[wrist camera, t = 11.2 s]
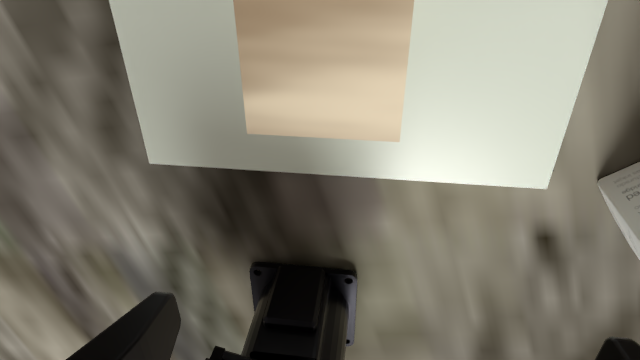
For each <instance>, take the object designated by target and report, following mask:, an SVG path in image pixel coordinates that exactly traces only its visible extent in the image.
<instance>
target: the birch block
mask: <svg viewBox="0 0 640 360" xmlns="http://www.w3.org/2000/svg"><path fill="white" fill-rule="evenodd" d="M233 4H234V13H235V23H236V32H237V42H238V51H239V61H240V71H241V80H242V90H243V99H244V109H245V118H246V128H247V134H261V135H279V136H297V137H315V138H333V139H351V140H369V141H387V142H400V133H401V123H402V114H403V104H404V94H405V85H406V75H407V65H408V56H409V46H410V36H411V27H412V17H413V7H414V0H233Z"/></svg>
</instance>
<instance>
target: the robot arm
mask: <svg viewBox="0 0 640 360" xmlns="http://www.w3.org/2000/svg"><path fill="white" fill-rule="evenodd" d="M257 270H260V271H257ZM347 278H351V279H347ZM250 279H251V287H252V295H253V303H254V311H255V314H254V317H253V320H252V323H251V326H250V329H249V332H248V335H247V338H246V341H245V345H244V348H243V351H242V354H241V355H239V354H236V353H232V352H229V351H225V348H222V347H218V346H215V348H214V350H213V352H212V355H211V357H210V359H209V358H206V360H344V359H345V349H346V346H351V345H353V343H354V332H355V314H356V295H357V274H356V273H355V272H354V271H352V270H344V269H333V268H321V267H310V266H299V265H287V264H276V263H265V262H255V263H253V264H252V265H251V268H250ZM180 323H181V318H180V314H179V310H178V306H177V302H176V299H175V296H174V295H173V294H172V293H166V292H155V293H153V294H151V295H150V296H148V297H147V298H146V299H144V300H143V301H142V302H141V303H139V304H138V305H137V306H135V307H134V308H133V309H131V310H130V311H129V312H127V313H126V314H125V315H124V316H122V317H121V318H120V319H118V320H117V321H116V322H114V323H113V324H112V325H111V326H109V327H108V328H107V329H105V330H104V331H103V332H101V333H100V334H99V335H97V336H96V337H95V338H94V339H92V340H91V341H90V342H88V343H87V344H86V345H84V346H83V347H82V348H80V349H79V350H78V351H77V352H75V353H74V354H73V355H71V356H70V357H69V358H67V359H66V360H170V357H171V354H172V351H173V348H174V345H175V342H176V338H177V335H178V332H179V329H180ZM595 360H640V345H639V344H638V343H636V342H635V341H633V340H632V339H629V338H620V337H609V338H607V339H606V340H605V341H604V343H603V345H602V347H601V349H600V351H599V353H598V355H597V356H596V358H595Z"/></svg>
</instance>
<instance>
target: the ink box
mask: <svg viewBox="0 0 640 360" xmlns="http://www.w3.org/2000/svg"><path fill="white" fill-rule="evenodd" d="M598 186H599V188H600V190H601V193H602V195H603V197H604V199H605V201H606V203H607V205H608V207H609V209H610V211H611V213H612V215H613V217H614V219H615V220H616V222H617V224H618V226H619V228H620V229H621V231H622V233H623V235H624V236H625V238H626V240H627V242H628V243H629V245H630V246H631V248H632V249H633V251H634V252H635V254H636V255H637V257H638V258H639V260H640V162H638V163H636V164H633V165H631V166H629V167H626V168H624V169H622V170H620V171H617V172H615V173H613V174H610V175H608V176H606V177H604V178H601V179H600V180H599V181H598Z"/></svg>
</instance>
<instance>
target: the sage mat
mask: <svg viewBox="0 0 640 360" xmlns="http://www.w3.org/2000/svg"><path fill="white" fill-rule="evenodd" d="M607 2H608V0H414V7H413V17H412V27H411V36H410V46H409V56H408V65H407V75H406V85H405V94H404V104H403V114H402V123H401V133H400V142H387V141H369V140H351V139H333V138H315V137H297V136H279V135H261V134H247V128H246V118H245V109H244V99H243V90H242V80H241V71H240V61H239V51H238V42H237V32H236V23H235V13H234V4H233V0H109V3H110V7H111V11H112V15H113V19H114V23H115V27H116V31H117V35H118V39H119V43H120V47H121V51H122V55H123V59H124V63H125V67H126V71H127V75H128V79H129V83H130V87H131V91H132V95H133V99H134V103H135V107H136V111H137V115H138V119H139V123H140V127H141V131H142V135H143V140H144V144H145V148H146V152H147V156H148V160H149V164H164V165H179V166H195V167H211V168H226V169H242V170H257V171H273V172H288V173H304V174H320V175H335V176H351V177H366V178H382V179H398V180H413V181H429V182H444V183H460V184H476V185H491V186H507V187H522V188H538V189H547V187H548V184H549V181H550V178H551V174H552V171H553V168H554V165H555V162H556V159H557V156H558V153H559V150H560V147H561V144H562V141H563V138H564V135H565V131H566V128H567V125H568V122H569V119H570V116H571V113H572V110H573V107H574V104H575V101H576V98H577V95H578V91H579V88H580V85H581V82H582V79H583V76H584V73H585V70H586V67H587V64H588V61H589V58H590V55H591V51H592V48H593V45H594V42H595V39H596V36H597V33H598V30H599V27H600V24H601V21H602V18H603V15H604V12H605V8H606V5H607Z"/></svg>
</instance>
